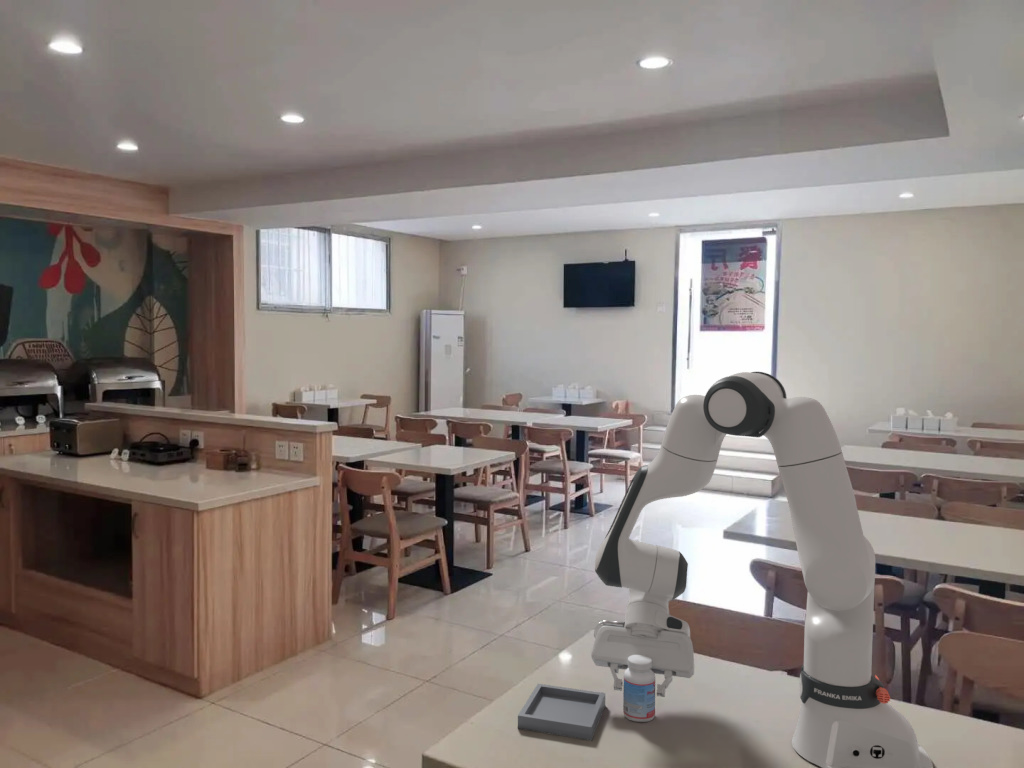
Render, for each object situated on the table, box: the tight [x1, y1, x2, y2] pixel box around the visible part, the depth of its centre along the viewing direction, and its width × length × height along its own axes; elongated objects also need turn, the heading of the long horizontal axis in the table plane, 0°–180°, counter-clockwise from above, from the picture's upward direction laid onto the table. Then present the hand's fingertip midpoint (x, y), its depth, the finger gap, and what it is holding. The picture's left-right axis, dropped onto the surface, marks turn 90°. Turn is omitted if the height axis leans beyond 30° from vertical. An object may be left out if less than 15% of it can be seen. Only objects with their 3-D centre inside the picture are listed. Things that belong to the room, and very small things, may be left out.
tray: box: [517, 683, 606, 741], centre depth 147 cm, size 14×14×2 cm
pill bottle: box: [622, 655, 656, 723], centre depth 147 cm, size 6×6×11 cm
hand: (638, 692), depth 147 cm, fingers open, 7 cm apart
